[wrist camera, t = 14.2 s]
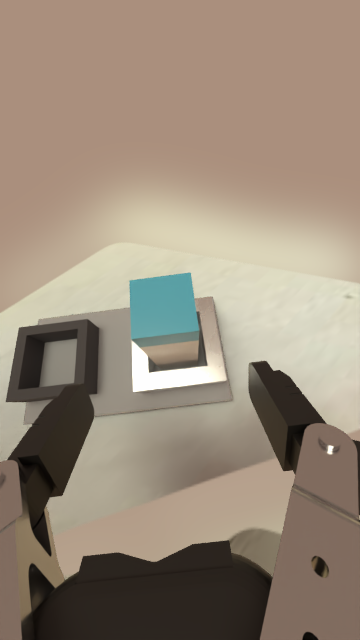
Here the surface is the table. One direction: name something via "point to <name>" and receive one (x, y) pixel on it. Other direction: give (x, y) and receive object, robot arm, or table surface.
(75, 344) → the panel
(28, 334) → the dark grey square socket
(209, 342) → the port
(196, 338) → the plug
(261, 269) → the table surface
